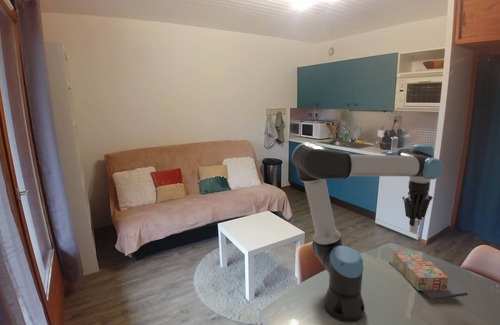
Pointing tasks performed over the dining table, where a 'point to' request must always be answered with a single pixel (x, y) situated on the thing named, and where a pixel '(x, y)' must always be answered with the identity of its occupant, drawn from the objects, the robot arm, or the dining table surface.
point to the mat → (451, 291)
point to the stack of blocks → (420, 272)
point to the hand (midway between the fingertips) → (413, 232)
